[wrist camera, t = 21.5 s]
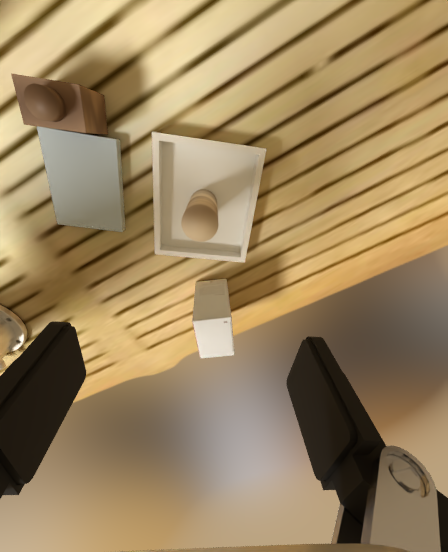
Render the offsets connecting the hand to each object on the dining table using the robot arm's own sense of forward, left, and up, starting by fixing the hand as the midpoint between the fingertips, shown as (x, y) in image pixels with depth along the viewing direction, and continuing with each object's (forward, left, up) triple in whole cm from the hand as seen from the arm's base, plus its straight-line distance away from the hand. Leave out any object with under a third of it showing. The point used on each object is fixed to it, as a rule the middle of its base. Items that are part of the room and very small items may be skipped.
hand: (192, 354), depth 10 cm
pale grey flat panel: (+1, +16, -29) cm, 33 cm away
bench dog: (+9, +16, -28) cm, 34 cm away
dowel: (0, 0, -28) cm, 28 cm away
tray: (0, 0, -28) cm, 28 cm away
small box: (-17, -3, -29) cm, 33 cm away
